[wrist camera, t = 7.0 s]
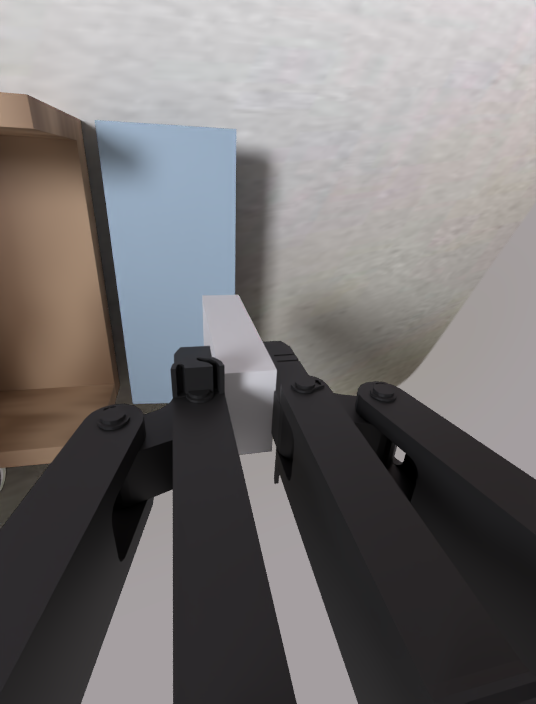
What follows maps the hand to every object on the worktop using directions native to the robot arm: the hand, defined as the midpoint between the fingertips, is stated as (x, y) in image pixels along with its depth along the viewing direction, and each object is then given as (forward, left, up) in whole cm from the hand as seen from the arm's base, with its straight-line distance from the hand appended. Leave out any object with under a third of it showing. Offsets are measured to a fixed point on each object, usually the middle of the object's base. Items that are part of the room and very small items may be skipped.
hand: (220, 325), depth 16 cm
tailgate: (-5, 0, -8) cm, 9 cm away
